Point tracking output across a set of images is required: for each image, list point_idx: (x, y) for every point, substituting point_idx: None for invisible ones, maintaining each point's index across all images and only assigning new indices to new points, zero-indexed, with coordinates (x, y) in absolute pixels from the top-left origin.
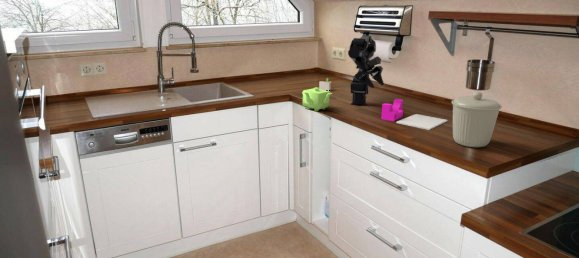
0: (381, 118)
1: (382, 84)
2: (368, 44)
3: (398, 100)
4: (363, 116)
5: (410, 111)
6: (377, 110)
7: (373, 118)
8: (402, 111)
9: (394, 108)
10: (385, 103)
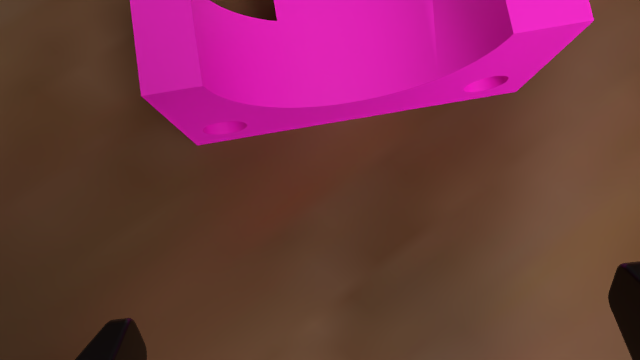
0: (517, 89)
1: (137, 349)
2: None
3: (194, 24)
4: (597, 273)
5: (14, 75)
6: (252, 339)
7: (569, 153)
8: None
9: (280, 70)
10: (523, 19)
